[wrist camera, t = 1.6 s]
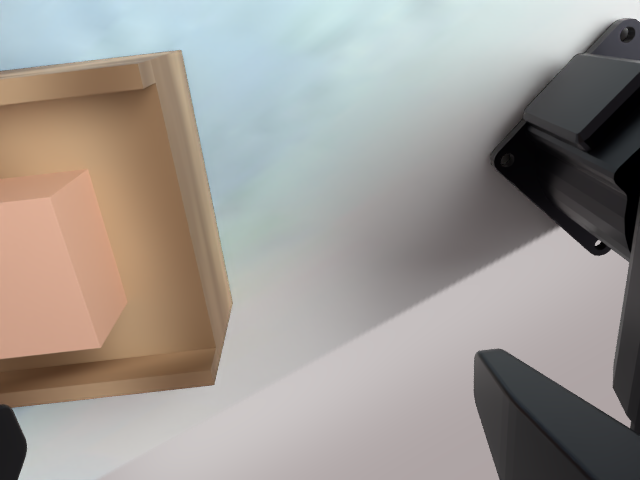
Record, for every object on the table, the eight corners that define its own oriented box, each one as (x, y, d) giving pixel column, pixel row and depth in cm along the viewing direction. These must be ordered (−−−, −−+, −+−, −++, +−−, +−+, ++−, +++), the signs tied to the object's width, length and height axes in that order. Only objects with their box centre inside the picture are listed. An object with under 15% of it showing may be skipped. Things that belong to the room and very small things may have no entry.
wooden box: (181, 50, 17) (137, 63, 13) (232, 302, 22) (214, 384, 17) (-197, 94, 18) (-380, 123, 13) (-75, 337, 22) (-180, 428, 17)
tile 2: (87, 169, 15) (49, 196, 13) (127, 302, 17) (100, 347, 14) (-66, 186, 15) (-131, 217, 13) (-9, 317, 17) (-58, 365, 14)
